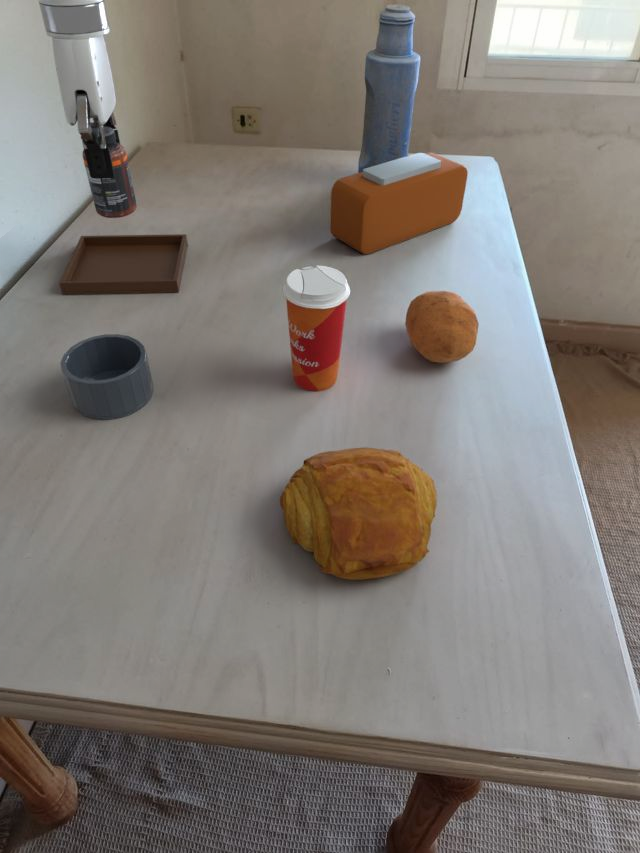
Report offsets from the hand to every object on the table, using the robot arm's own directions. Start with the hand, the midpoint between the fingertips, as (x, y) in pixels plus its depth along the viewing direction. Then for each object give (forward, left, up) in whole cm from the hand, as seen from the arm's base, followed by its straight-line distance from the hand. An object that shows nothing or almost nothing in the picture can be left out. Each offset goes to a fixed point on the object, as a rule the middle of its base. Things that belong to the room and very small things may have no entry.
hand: (107, 166), depth 89 cm
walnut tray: (0, 0, -16) cm, 16 cm away
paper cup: (+28, -29, -16) cm, 43 cm away
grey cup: (+3, -31, -16) cm, 35 cm away
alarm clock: (+45, +12, -16) cm, 49 cm away
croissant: (+31, -53, -16) cm, 63 cm away
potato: (+45, -24, -16) cm, 53 cm away
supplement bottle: (0, 0, -7) cm, 7 cm away
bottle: (+45, +33, -16) cm, 58 cm away
